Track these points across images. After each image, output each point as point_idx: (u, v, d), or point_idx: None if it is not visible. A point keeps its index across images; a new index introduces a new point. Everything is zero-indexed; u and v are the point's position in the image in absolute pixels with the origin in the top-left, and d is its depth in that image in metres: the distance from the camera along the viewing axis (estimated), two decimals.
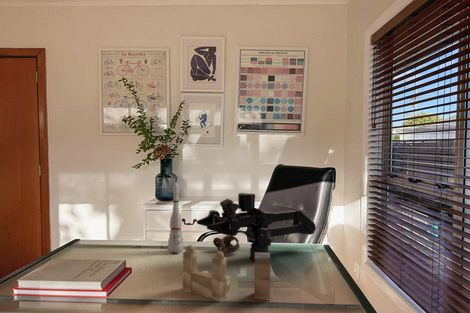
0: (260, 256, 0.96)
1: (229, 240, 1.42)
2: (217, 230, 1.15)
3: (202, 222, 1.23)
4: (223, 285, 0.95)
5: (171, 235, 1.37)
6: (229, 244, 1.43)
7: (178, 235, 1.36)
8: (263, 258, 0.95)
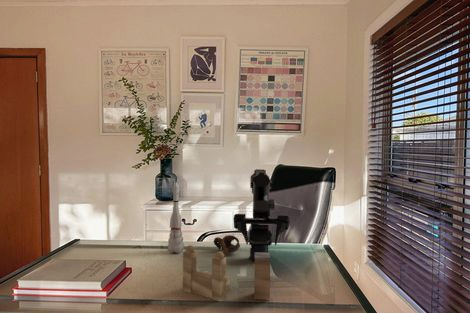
0: (260, 256, 0.96)
1: (229, 240, 1.43)
2: (278, 237, 1.08)
3: (247, 238, 1.07)
4: (223, 285, 0.95)
5: (171, 235, 1.37)
6: (229, 244, 1.43)
7: (178, 235, 1.36)
8: (263, 258, 0.95)
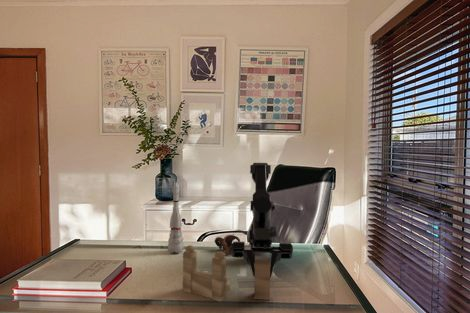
0: (260, 256, 0.96)
1: (230, 239, 1.43)
2: (273, 267, 0.99)
3: None
4: (223, 285, 0.95)
5: (171, 235, 1.37)
6: (230, 243, 1.44)
7: (178, 235, 1.36)
8: (263, 258, 0.95)
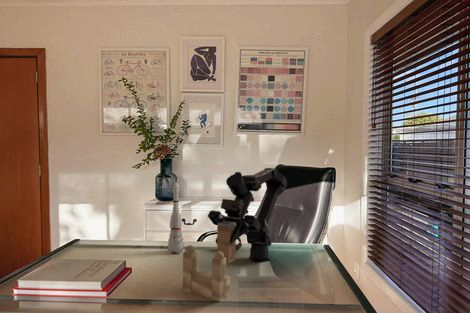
0: (222, 223, 1.08)
1: None
2: (238, 236, 1.09)
3: None
4: (223, 285, 0.95)
5: (171, 235, 1.37)
6: None
7: (178, 235, 1.36)
8: (223, 225, 1.07)
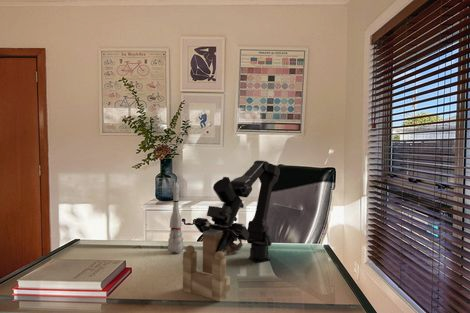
0: (208, 232, 1.01)
1: None
2: (225, 245, 1.02)
3: None
4: (223, 285, 0.95)
5: (171, 235, 1.37)
6: (232, 243, 1.45)
7: (178, 235, 1.36)
8: (209, 234, 1.00)
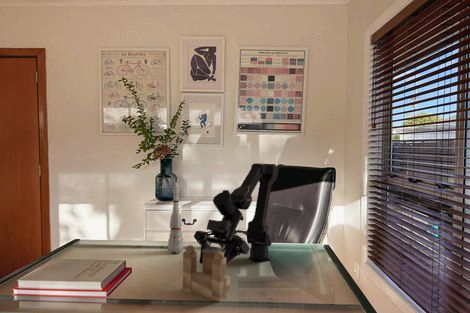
0: (208, 250, 1.01)
1: None
2: (229, 260, 1.02)
3: None
4: (223, 285, 0.95)
5: (171, 235, 1.37)
6: None
7: (178, 235, 1.36)
8: (209, 252, 1.00)
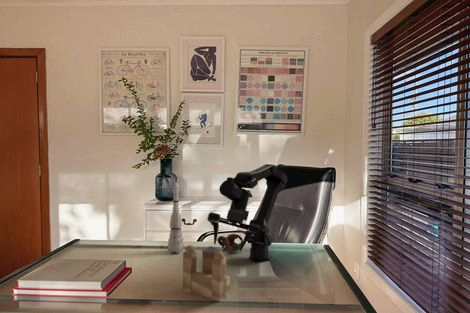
0: (208, 250, 1.01)
1: (233, 238, 1.45)
2: (245, 242, 1.14)
3: (216, 238, 1.14)
4: (223, 285, 0.95)
5: (171, 235, 1.37)
6: (233, 242, 1.46)
7: (178, 235, 1.36)
8: (209, 252, 1.00)
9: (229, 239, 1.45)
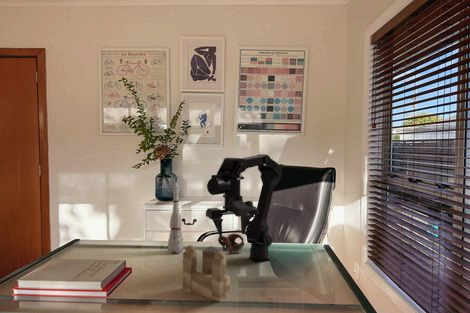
0: (208, 250, 1.01)
1: (233, 238, 1.45)
2: None
3: None
4: (223, 285, 0.95)
5: (171, 235, 1.37)
6: (233, 242, 1.46)
7: (178, 235, 1.36)
8: (209, 252, 1.00)
9: (230, 239, 1.45)
